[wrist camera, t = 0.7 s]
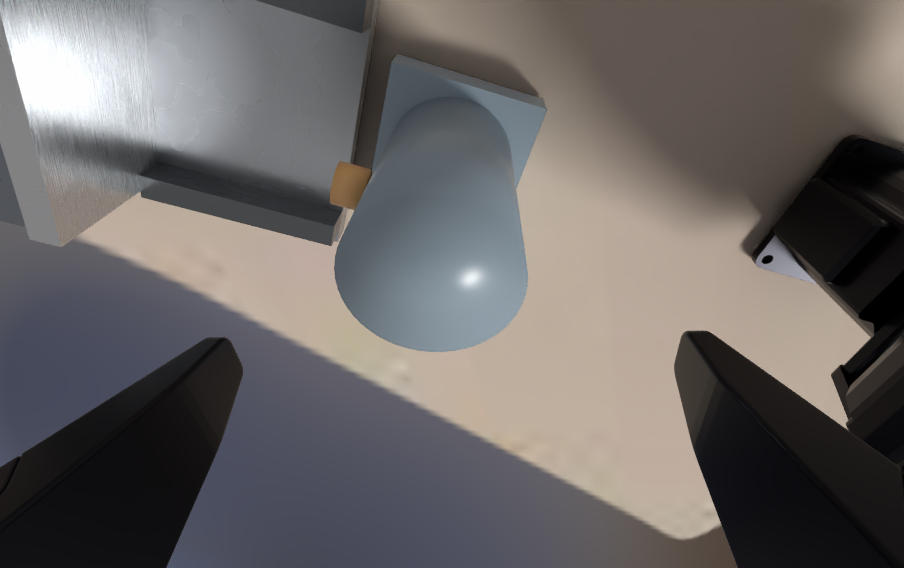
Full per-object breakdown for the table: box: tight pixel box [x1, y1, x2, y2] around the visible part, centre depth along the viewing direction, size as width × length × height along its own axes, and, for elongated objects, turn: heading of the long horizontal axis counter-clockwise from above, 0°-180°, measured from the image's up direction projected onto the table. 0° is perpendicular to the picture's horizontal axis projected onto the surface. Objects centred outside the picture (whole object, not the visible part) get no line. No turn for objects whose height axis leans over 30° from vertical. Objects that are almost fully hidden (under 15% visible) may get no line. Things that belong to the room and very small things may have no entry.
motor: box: [0, 0, 379, 247], centre depth 16 cm, size 15×11×7 cm
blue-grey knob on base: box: [330, 54, 547, 352], centre depth 16 cm, size 6×6×10 cm
